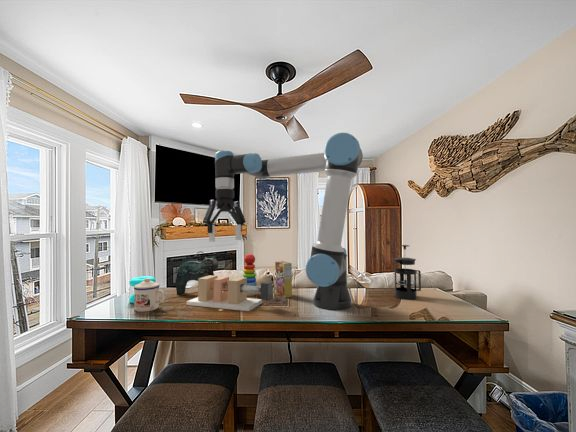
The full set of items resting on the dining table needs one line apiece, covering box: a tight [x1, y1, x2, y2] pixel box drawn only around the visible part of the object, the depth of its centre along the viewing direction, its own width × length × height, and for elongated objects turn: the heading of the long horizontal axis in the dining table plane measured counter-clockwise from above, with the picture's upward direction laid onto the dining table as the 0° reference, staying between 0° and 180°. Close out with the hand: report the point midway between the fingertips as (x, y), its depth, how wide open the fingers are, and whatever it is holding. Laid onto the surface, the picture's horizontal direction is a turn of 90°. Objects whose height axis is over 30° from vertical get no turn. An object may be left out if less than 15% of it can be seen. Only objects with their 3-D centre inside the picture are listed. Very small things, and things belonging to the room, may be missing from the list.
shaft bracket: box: [186, 275, 263, 312], centre depth 120 cm, size 28×12×10 cm, turn 71°
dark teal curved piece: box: [175, 251, 219, 295], centre depth 138 cm, size 20×6×20 cm, turn 81°
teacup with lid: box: [133, 278, 166, 313], centre depth 114 cm, size 12×9×12 cm
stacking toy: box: [242, 253, 259, 297], centre depth 137 cm, size 8×8×19 cm
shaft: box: [222, 280, 274, 300], centre depth 117 cm, size 21×5×6 cm, turn 71°
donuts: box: [128, 275, 156, 304], centre depth 126 cm, size 10×10×10 cm
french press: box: [394, 244, 422, 301], centre depth 130 cm, size 12×9×23 cm
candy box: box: [274, 260, 293, 299], centre depth 134 cm, size 9×4×15 cm, turn 29°
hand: (225, 240), depth 121 cm, fingers open, 13 cm apart
